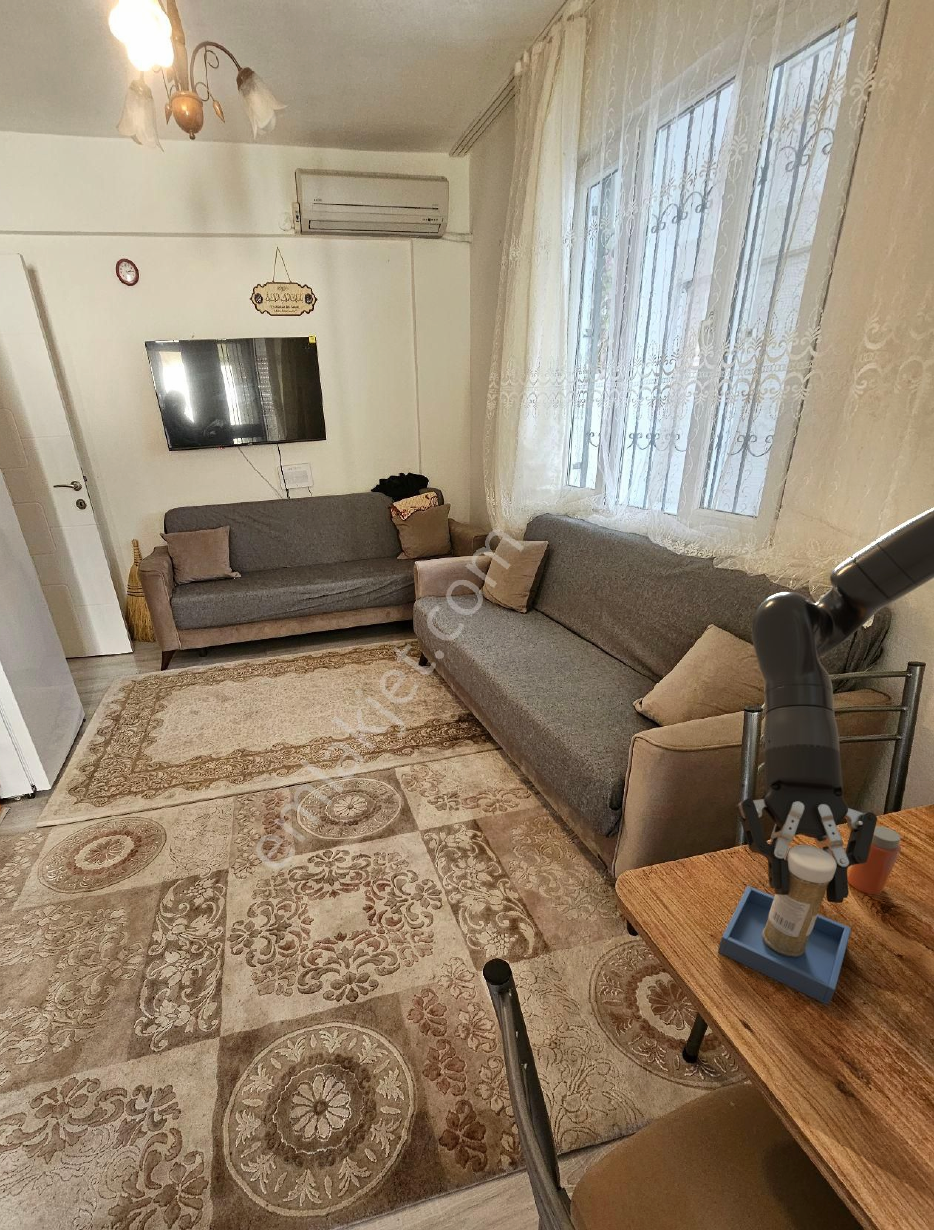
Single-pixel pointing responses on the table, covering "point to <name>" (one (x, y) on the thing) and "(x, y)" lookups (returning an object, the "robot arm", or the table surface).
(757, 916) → the blue tray
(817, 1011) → the table surface
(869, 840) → the robot arm
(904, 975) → the table surface
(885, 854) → the terracotta shaker
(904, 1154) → the table surface
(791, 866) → the sprinkles bottle
